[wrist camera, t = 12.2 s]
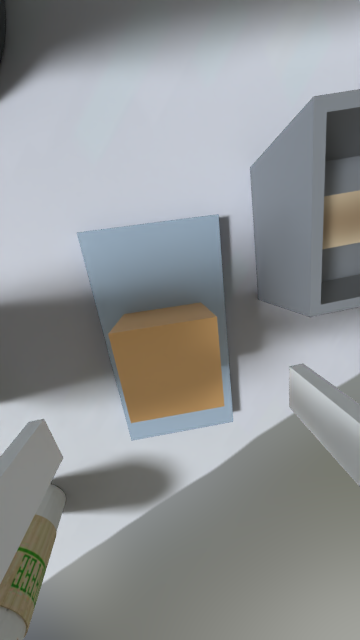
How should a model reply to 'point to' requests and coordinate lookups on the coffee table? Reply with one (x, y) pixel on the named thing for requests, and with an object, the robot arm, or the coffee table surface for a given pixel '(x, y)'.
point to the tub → (307, 208)
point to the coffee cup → (29, 567)
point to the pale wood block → (341, 219)
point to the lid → (163, 321)
